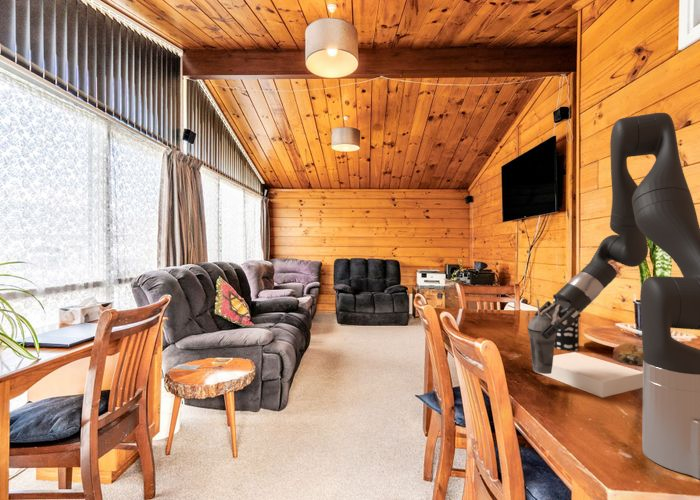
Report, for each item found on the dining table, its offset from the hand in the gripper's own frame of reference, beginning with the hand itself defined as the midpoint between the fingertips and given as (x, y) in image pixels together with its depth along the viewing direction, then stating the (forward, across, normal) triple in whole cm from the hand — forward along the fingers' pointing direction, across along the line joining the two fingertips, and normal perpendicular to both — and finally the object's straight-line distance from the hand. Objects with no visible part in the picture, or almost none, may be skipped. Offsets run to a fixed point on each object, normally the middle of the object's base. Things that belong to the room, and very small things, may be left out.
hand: (536, 333), depth 97 cm
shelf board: (-2, -5, +22) cm, 23 cm away
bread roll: (-19, -22, +40) cm, 49 cm away
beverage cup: (+7, 0, +9) cm, 11 cm away
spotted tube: (-10, -37, +30) cm, 49 cm away
